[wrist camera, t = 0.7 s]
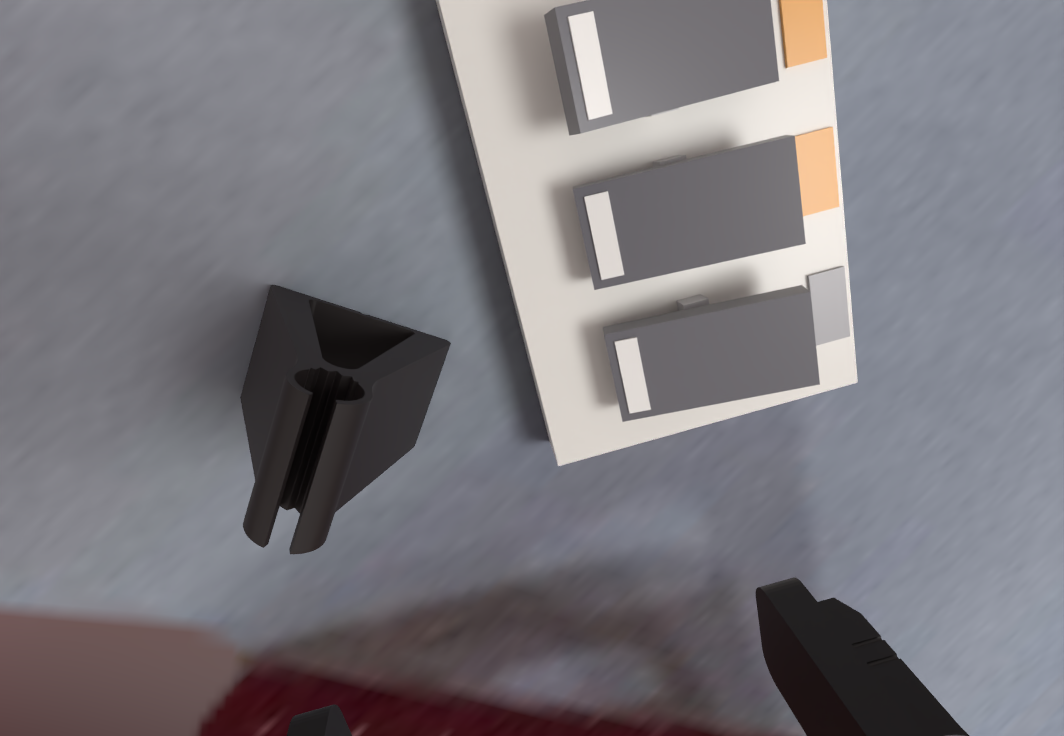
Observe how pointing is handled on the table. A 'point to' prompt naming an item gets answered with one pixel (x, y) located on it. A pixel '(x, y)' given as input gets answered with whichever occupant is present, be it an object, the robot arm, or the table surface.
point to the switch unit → (565, 161)
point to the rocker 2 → (692, 212)
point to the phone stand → (329, 408)
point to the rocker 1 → (656, 55)
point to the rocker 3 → (714, 353)
